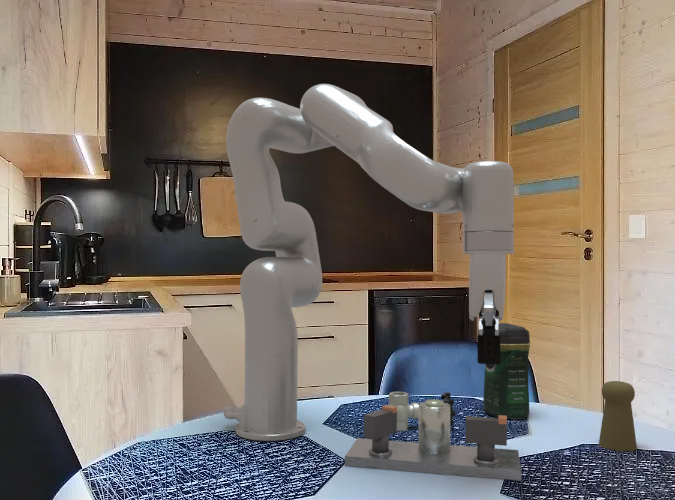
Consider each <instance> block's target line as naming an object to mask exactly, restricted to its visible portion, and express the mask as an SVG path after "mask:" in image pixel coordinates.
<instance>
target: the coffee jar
mask: <svg viewBox="0 0 675 500" xmlns="http://www.w3.org/2000/svg"><path fill="white" fill-rule="evenodd" d="M499 336H500V349H501V362H500V364H484V382H483V383H484V384H483V398H482V400H483V403H482V405H483V406H482V408H483V410H484V411H485V412H486V413H487V414H490V415H491V416H493V417H495V418H498V415H504V416H507V419H510V420H520V419H523V418H527V417H529V415H530V389H529V388H530V387H529V353H530V348H531V339H530V330H528V329H526V327H523V326H519V325H516V324H511V323H507V322H506V323H505V322H504V323H503V322H502V323H501V322H499Z"/></svg>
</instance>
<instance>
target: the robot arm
mask: <svg viewBox="0 0 675 500" xmlns="http://www.w3.org/2000/svg"><path fill="white" fill-rule="evenodd" d="M225 147H226V154H227V157H228V161H229V165H230V170H231V173H232V179H233V185H234V187H233V188H234V195H235V201H236V207H237V208H236V210H237V215H238V221H239V222H238V225H239V229H240V234H241V238H242V240H243V242H244V243H245V245H246V246H248V247H249V248H250V249H252V250H257V251H264V252H266V251H268V252H273V251H274V252H275V256H267V257H266V256H265V257H261V258H257V259H256V260H253V261H251V263H249V264H248V265H246V267H245V268H244V270H243V272H242V274H241V276H240V282H239V289H240V290H239V291H240V297H241V304H242V310H243V316H244V317H243V319H244V404H243V405H241V406H240V407H236V406H232V405H230V406H229V405H225V406H224V407H223V416H224V418H225V420H237V421H238V423H237V424H236V425H235V427H234V428H235V434H236V436H238V437H240V438H243V439H247V440H251V441H260V442H261V441H262V442H275V441H276V442H277V441H285V440H290V439H295V438H298V437H300V436H302V435H303V434H304V433H305V432H306V424H305V423H304V422H303V421H301V420H298V352H299V351H298V350H299V349H298V348H299V346H298V345H299V344H298V343H299V341H298V339H299V338H298V334H299V333H298V328H297V323H296V319H295V316H294V313H293V309H292V308H300V307H305V306H309V305H311V304H312V303H314V302H315V301H316V300H317V299H318V297H319V295H320V293H321V291H322V287H323V272H322V265H321V264H322V263H321V259H320V257H321V256H320V253H319V252H320V251H319V246H318V245H319V244H318V239H317V233H316V227H315V224H314V220H313V219H312V217H311V215H310V213H309V211H308V210H307V209H306V208H304V207H303V206H302V205H300V204H298V203H296V202H292V201H285V199H284V196H283V192H282V186H281V184H282V183H281V179H280V178H281V177H280V173H279V170H278V167H277V166H276V163H275V161H274V159H273V157H272V155H271V153H270V149H273V150H278V151H282V152H286V153H289V154H305V153H310V152H314V151H318V150H322V149H326V148H327V149H328V148H330V147H336V148H337V149H338V150H340V151H341V152H342V153H344V154H345V155H346V156H348V157H349V158H351V159H352V160H354V161H355V162H356V163H357V164H358V165H359V166H360V167H361V169H363V170H364V172H366V173H367V175H368V176H369V177H370V178H372V180H374V182H376V183H377V184H379V185H380V186H381V187H383V188H384V189H385V190H387V191H388V192H389V193H391V194H392V195H394V196H395V197H396V198H397V199H399V200H401V201H402V202H404V203H405V204H407V206H409V207H411V208H414V209H416V210H419V211H423V212H424V211H425V212H431V213H435V214H443V215H450V214H457V213H461V212H462V254H463V255H469V263H468V264H469V267H468V268H469V269H468V300H469V301H468V312H469V313H468V315H469V317H468V318H469V319H470V321H471V322H472V321H473V322H474V320H475V318H478V329H477V337H476V338H477V339H476V340H477V342H476V343H477V345H476V346H477V347H476V348H477V353H476V354H477V363H478V364H480V365H485V364H500V362H501V349H500V336H499V323H500V322H501V321H503V319H504V311H505V304H506V303H505V302H506V288H507V287H506V286H507V285H506V280H507V279H506V275H507V273H506V270H507V268H506V267H507V264H506V262H507V261H506V260H507V257H506V256H507V255H515V232H514V231H515V227H514V225H515V213H514V212H515V211H514V210H515V207H514V206H515V205H514V204H515V200H514V199H515V198H514V197H515V193H514V191H515V190H514V186H515V185H514V184H515V183H514V181H515V180H514V170H513V169H514V168H513V167H512V166H511V164H509V163H508V162H504V161H498V160H497V161H496V160H487V161H486V160H485V161H476V162H471V163H469V164H467V165H466V166H465V167H463V168H461V167H459V168H458V167H454V166H450V165H447V164H444V163H441V162H438V161H435V160H433V159H432V158H429V157H428V156H427V155H425V154H423V153H422V152H420V151H419V150H417V149H416V148H414V147H413V146H411V145H410V144H408V143H407V142H406V141H404V140H403V139H401V138H400V137H399V136H398V135H397V134H395V132H394V127H393V124H392V123H391V121H389V120H388V119H386V118H384V117H383V116H382V115H380V114H379V113H377V111H374V110H373V109H371V108H370V107H368V106H367V105H366V103H365V101H364V100H363V99H362V98H361V97H360V96H358V95H356V94H354V93H352V92H349V91H347V90H345V89H344V88H341V87H339V86H336V85H333V84H330V83H319V84H316V85H313V86H311V87H310V88H308V89H307V90H306V91H305V92H304V94H303V95H302V98H301V100H300V104H299V108H298V107H295V106H293V105H291V104H290V105H289V104H287V103H284V102H282V101H279V100H277V99H276V100H275V99H273V98H268V97H254V98H249V99H247V100H245V101H243V102H242V103H241V104H240V105H239V106H238V107H237V108H236V109H235V110H234V111H233V114H232V115H231V117H230V119H229V122H228V124H227V129H226V134H225Z"/></svg>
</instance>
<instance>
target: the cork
mask: <svg viewBox="0 0 675 500" xmlns="http://www.w3.org/2000/svg"><path fill="white" fill-rule="evenodd" d="M635 393H636V391H635V388H634V386H633V385H632V384H630V383H628V382H625V381H620V380H619V381H618V380H611V381H610V380H609V381H606V382H605V383H603V385H602V387H601V395H602V398H603V399H604V406H603V414H602V420H601V426H600V427H601V428H600V433H599V439H598V446H599V447H601V448H603V449H605V448H606V450H609V449H611V450H610V451H613V450H616V451H615V452H622V451H630V452H635V451H637V450H638V445H637V438H636V432H635V431H636V430H635V423H634V414H633V407H632V402H633V400H634V399H635V397H636V394H635ZM636 449H637V450H636ZM634 450H635V451H634Z"/></svg>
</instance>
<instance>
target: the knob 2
mask: <svg viewBox="0 0 675 500" xmlns="http://www.w3.org/2000/svg"><path fill="white" fill-rule="evenodd" d="M464 441H465V444H476V447H477V459H478V460H480V461H484V462H492V461H494V460H495V448H496V446H506V447H507V446H508V444H507V443H508V418H507V416H504V415H498V417H488V416H487V417H485V416H484V417H483V416H470V415H468V416H467V415H465V440H464Z"/></svg>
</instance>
